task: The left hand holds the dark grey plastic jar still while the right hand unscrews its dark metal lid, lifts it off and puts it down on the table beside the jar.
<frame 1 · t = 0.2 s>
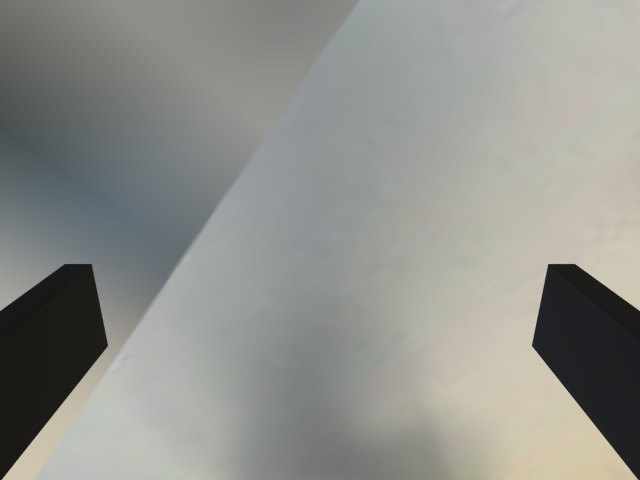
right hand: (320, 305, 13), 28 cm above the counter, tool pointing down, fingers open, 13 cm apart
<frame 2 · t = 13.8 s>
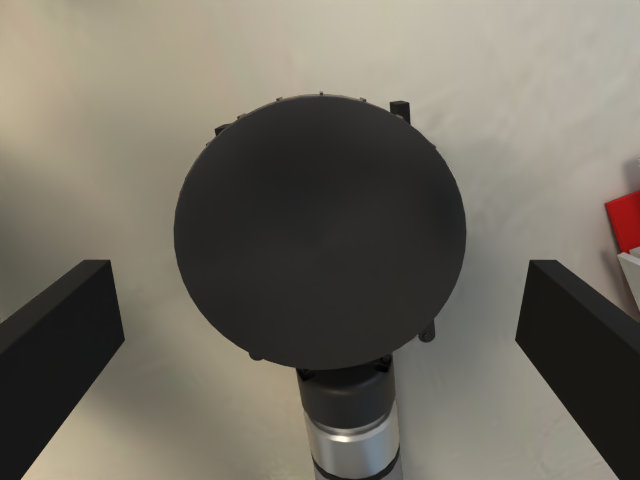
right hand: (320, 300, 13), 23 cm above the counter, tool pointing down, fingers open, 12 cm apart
lid: (320, 245, 17), point 18 cm above the counter, screwed on, not yet turned
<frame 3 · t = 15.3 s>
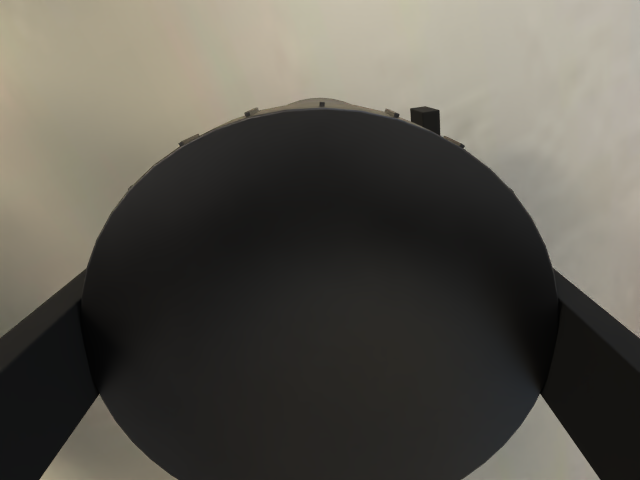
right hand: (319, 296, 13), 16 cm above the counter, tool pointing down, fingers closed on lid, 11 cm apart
lid: (319, 344, 11), point 18 cm above the counter, screwed on, not yet turned, touching right hand
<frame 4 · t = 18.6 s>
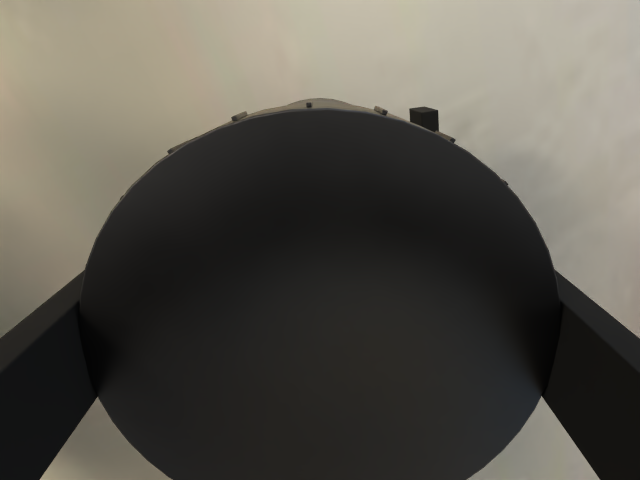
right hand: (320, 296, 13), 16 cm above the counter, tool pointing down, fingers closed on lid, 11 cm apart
lid: (319, 347, 11), point 19 cm above the counter, turned 97° so far, risen 0.3 cm, still on its thread, touching right hand
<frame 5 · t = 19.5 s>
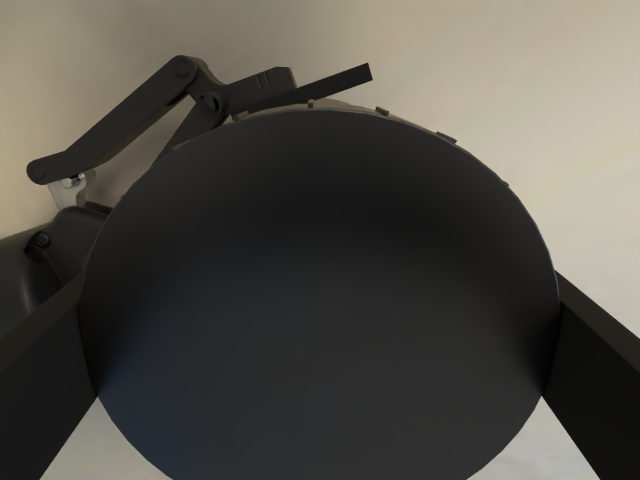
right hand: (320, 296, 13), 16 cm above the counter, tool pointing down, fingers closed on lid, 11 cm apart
lid: (319, 346, 11), point 19 cm above the counter, off its thread, touching right hand
when the right hand's fingers open (0 cm above the counter, at t = 25.2 s): lid drops 1 cm, point 2 cm above the counter.
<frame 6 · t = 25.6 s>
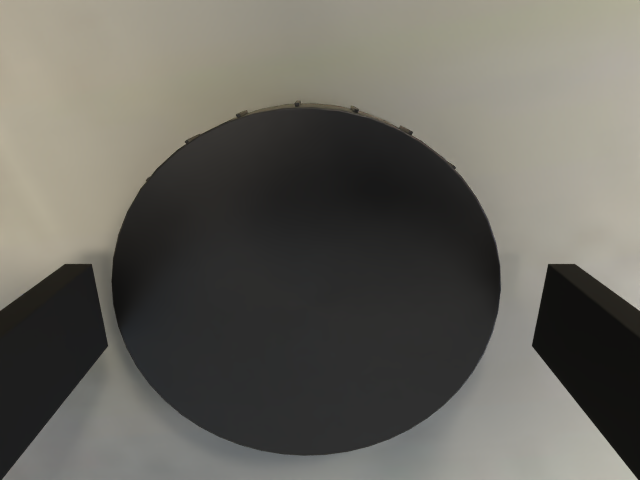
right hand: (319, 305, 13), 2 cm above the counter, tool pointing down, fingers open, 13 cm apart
lid: (307, 302, 13), point 2 cm above the counter, off its thread
when the left hand's fingers open (6 cm above the counter, at t = 26.2 s): jar stays where it is, on the counter.
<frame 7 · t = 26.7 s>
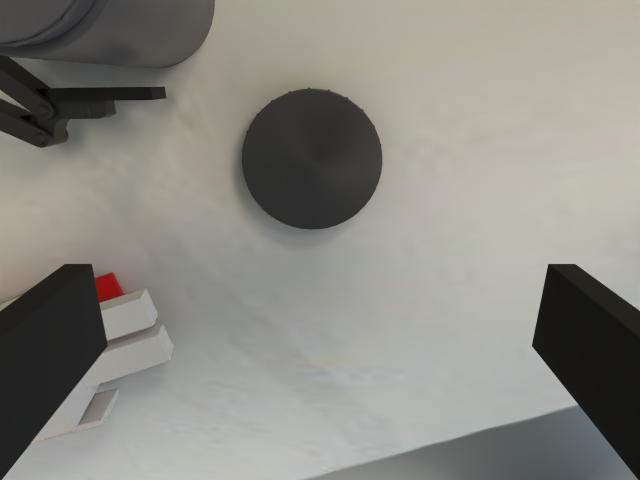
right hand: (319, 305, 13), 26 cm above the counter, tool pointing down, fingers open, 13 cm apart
toy: (30, 338, 43), on the counter
lid: (312, 162, 36), point 2 cm above the counter, off its thread
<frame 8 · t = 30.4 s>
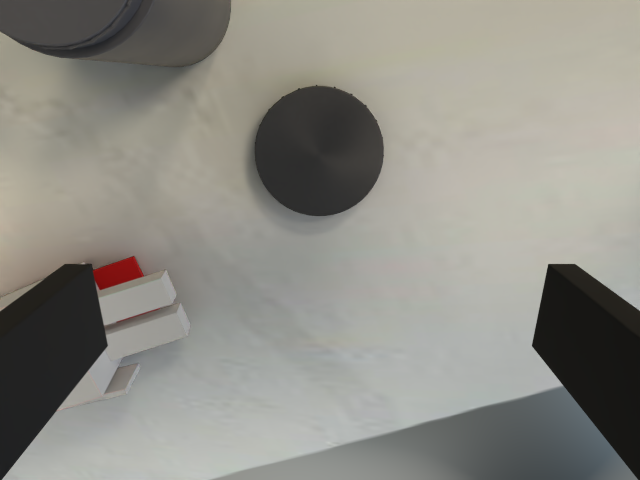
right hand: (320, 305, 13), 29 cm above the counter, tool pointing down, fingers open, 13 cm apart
jar: (168, 0, 36), on the counter
toy: (57, 317, 46), on the counter
lid: (319, 153, 39), point 2 cm above the counter, off its thread
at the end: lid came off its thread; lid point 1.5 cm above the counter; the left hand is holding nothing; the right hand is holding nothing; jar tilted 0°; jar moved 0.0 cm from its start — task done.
